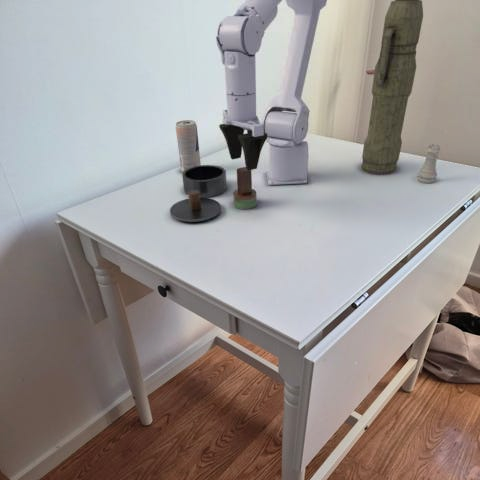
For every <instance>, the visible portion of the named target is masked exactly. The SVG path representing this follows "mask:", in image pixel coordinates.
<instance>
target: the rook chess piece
mask: <svg viewBox="0 0 480 480" xmlns="http://www.w3.org/2000/svg"><path fill="white" fill-rule="evenodd" d="M425 151H426V155H425V156H424V157H425V158H424V159H425V160H424V162H423V165H422V167H421V168H420V169H419V171H418V172H417V176H416V179H417V181H418V182H420V183H425V184H433V183H434V182H435V181H436V180H437V176H438V173H437V169H436V166H437V160H438V159H439V156H438V155H439V154H440V153H441V151H442V150H441V145H439V144H436V145H435V144H434V143H432V144H431V143H430V144H428V145H427V148H426V149H425Z"/></svg>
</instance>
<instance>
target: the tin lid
mask: <svg viewBox="0 0 480 480" xmlns="http://www.w3.org/2000/svg"><path fill="white" fill-rule="evenodd" d="M187 196H188V198H185V199H182V200H179V201H177V202H175V203H174V204H173V205H172V206H171V207H170V209H169V214H170V216H171V217H172V218H173V219H175V220H176V221H177V220H178V221H181V222H188V223H190V222H191V223H194V222H202V221H206V220H209V219H212V218H215V217H216V216H218V215H219V214H220V213H221V211H222V205H221V203H220V202H219V201H217V200H215V199H214V198H211V197H206V198H200V195H199V191H197V190H192V191H189V192H188V195H187Z"/></svg>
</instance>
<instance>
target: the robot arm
mask: <svg viewBox="0 0 480 480" xmlns="http://www.w3.org/2000/svg"><path fill="white" fill-rule="evenodd" d="M282 2H283V0H245V1H244V2H243V3H242V5H239V7H237V10H236V11H235V12H234V14H233V15H227V16H225V17H224V18H223V19H222V20H221V21H220V23H219V24H218V27H217V33H216V34H217V35H216V36H215V41H216V45H217V48H218V50H219V52H220V58H221V63H222V65H223V66H224V73H225V74H224V76H225V77H224V78H225V92H226V93H225V94H226V95H225V96H226V109H223V110H222V119H221V120H222V123H221V124H219V125H218V127H219V129H220V131H221V133H222V135H223V137H224V140H225V143H226V146H227V150H228V153H229V157H230V159H231V160H236V159H237V160H238V159H241V158H242V152H243V157H244V165H245V167H246V168H247V170H251V171H252V170H256V169H258V165H259V161H260V156H261V152H262V149H263V147H264V145H265V143H268V170H267V171H266V177H267V184H268V185H269V186H279V185H294V184H295V185H299V184H307V183H308V171H309V168H308V167H309V143H308V141H307V140H305V139H306V137H307V135H308V131H309V120H310V119H309V117H310V109H309V107H308V105H307V104H306V103H305V102H304V100H303V99H302V95H303V91H304V86H305V82H306V77H307V73H308V69H309V64H310V59H311V54H312V50H313V45H314V42H315V38H316V37H315V36H316V32H317V26H318V23H319V19H320V18H319V17H320V13H321V11H322V9H323V8H325V7H326V6H327V3H328V0H285V3H286V5H287V7H289V8H290V9H291V10H292V11H293V12H294V18H293V22H292V28H291V33H290V38H289V44H288V47H287V52H286V57H285V63H284V67H283V73H282V77H281V78H282V79H281V82H280V87H279V93H278V95H276V96H275V97H273V98H272V99H271V100H270V101H269V102H268V103H267V106H266V110H265V112H264V115H263V116H262V118H261V121H260V119H259V117H258V115H257V76H256V74H257V73H256V72H257V71H256V69H257V68H256V65H257V64H256V54H257V53H258V52H259V51H260V49H261V46H262V42H263V38H264V36H265V33H266V32H265V31H266V30H267V29H268V28H269V26H270V25H271V24H272V23H273V22H274V20H275V19H276V17H277V16H278V11H279V9H278V6H279V4H280V3H282ZM245 131H246V133H245Z"/></svg>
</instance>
